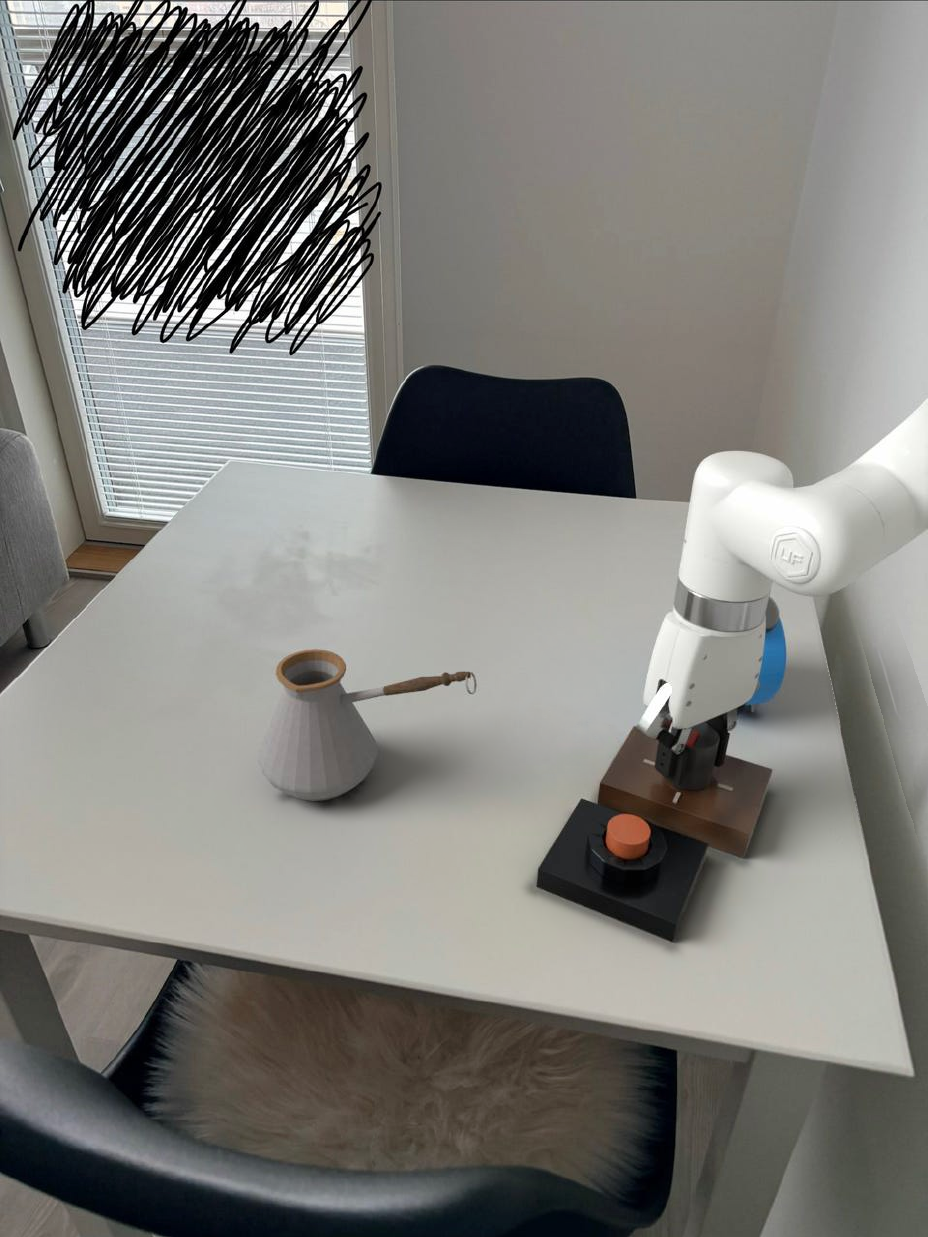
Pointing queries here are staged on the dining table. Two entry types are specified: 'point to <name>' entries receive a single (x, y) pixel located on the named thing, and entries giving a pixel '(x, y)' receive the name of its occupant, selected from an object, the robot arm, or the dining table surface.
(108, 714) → the dining table surface
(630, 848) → the push knob
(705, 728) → the dial
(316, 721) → the coffee pot
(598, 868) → the black button base
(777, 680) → the alarm clock
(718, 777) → the dial panel
